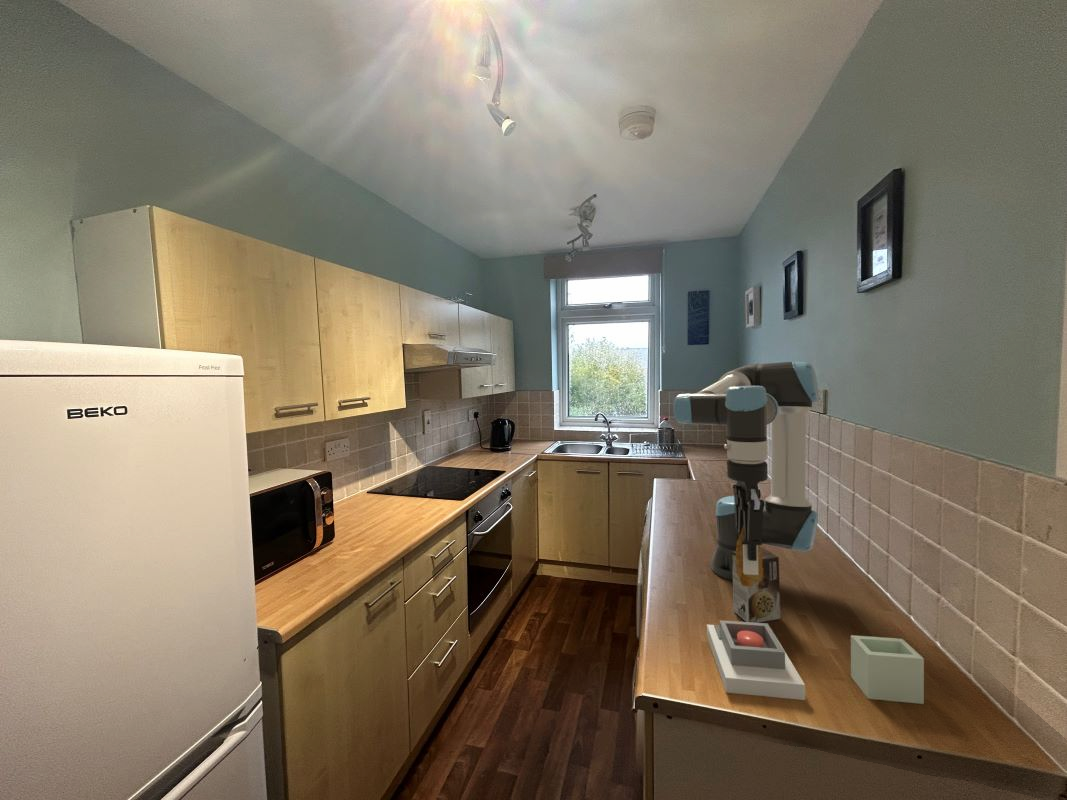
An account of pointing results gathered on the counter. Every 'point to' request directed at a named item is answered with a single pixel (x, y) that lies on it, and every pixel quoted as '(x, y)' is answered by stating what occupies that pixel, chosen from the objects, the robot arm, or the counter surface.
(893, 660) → the box
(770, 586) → the coffee box
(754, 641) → the pink dome
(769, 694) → the panel
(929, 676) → the counter surface
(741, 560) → the stone tool
